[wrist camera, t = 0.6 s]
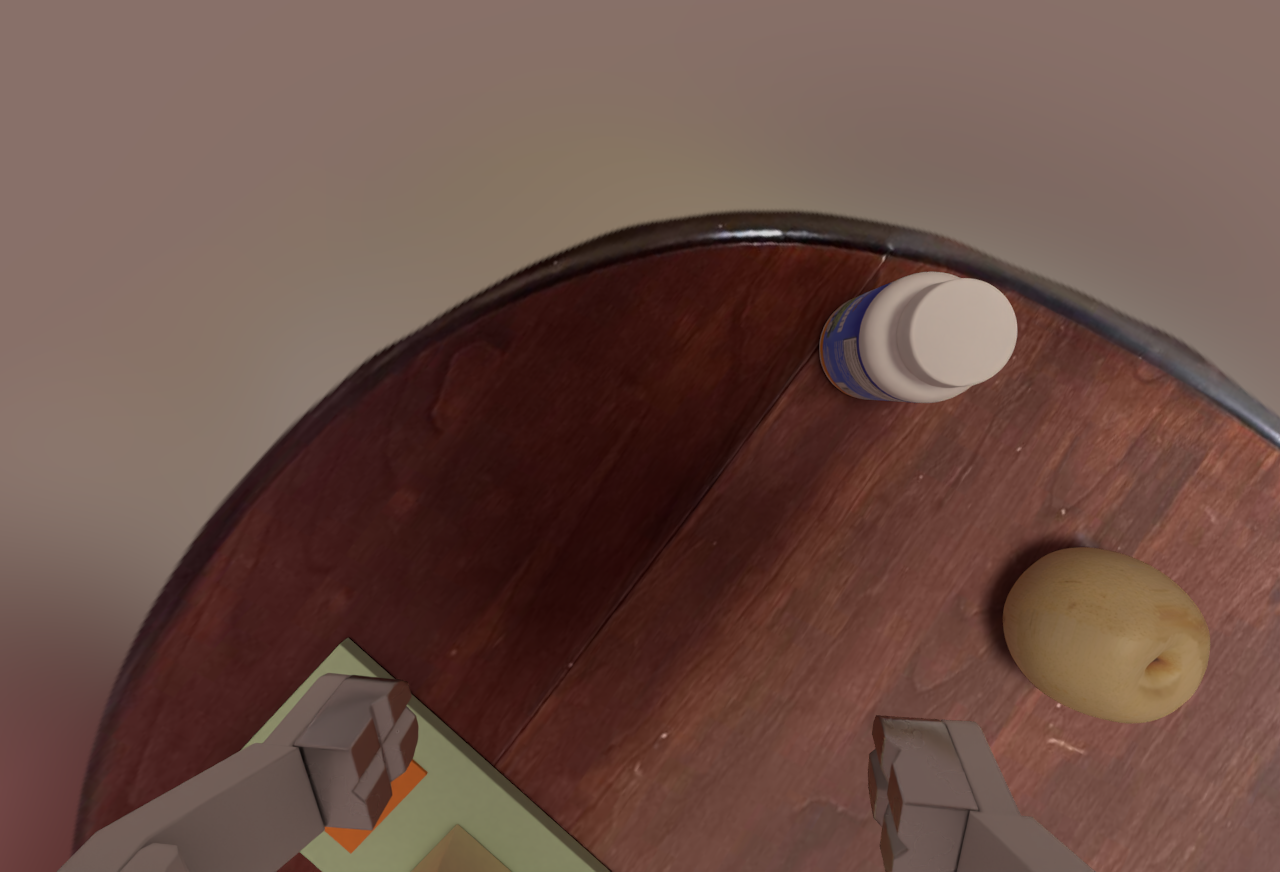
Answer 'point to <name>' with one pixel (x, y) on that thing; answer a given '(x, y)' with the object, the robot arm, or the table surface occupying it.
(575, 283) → the table surface
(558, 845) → the word mat
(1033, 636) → the apple
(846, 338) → the pill bottle
